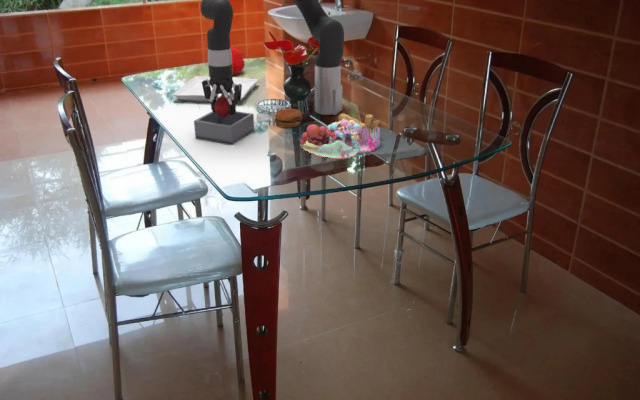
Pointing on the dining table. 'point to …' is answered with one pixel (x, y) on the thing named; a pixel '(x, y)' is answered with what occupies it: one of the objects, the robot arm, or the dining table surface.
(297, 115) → the burger
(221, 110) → the onion
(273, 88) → the dining table surface
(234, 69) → the tomato
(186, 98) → the square plate
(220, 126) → the bin
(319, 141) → the candy dessert platter
